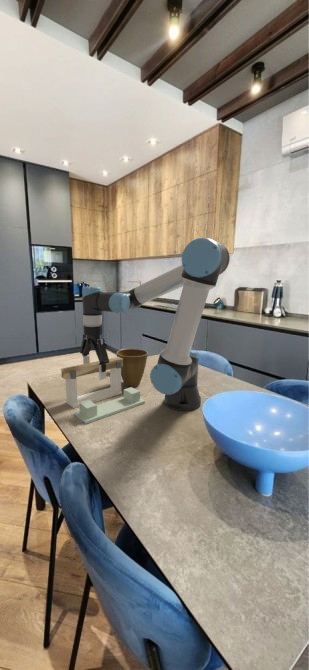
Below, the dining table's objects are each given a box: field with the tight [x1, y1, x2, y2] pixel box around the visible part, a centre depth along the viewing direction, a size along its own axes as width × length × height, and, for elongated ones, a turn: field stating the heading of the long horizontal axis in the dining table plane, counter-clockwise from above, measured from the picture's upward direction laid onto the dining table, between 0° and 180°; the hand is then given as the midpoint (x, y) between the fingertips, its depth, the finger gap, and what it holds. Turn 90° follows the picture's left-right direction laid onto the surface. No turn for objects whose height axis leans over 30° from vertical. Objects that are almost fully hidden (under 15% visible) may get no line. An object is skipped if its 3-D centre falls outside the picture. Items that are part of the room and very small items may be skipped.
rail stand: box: [65, 361, 123, 409], centre depth 120 cm, size 7×23×15 cm, turn 131°
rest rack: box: [73, 387, 146, 425], centre depth 111 cm, size 9×27×5 cm, turn 131°
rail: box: [60, 356, 123, 381], centre depth 119 cm, size 4×27×4 cm, turn 131°
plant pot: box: [116, 348, 149, 388], centre depth 136 cm, size 15×15×16 cm
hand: (94, 374), depth 119 cm, fingers open, 13 cm apart
